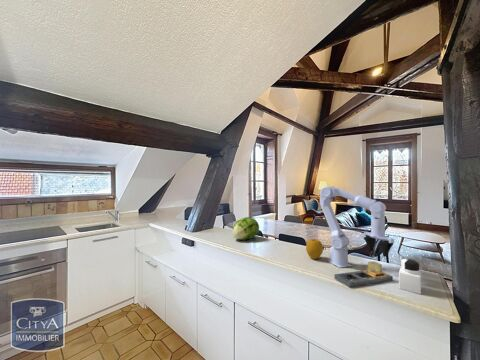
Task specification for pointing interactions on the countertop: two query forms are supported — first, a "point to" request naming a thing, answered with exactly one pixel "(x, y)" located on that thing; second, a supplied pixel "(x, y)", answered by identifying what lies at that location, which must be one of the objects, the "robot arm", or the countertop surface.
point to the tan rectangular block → (375, 268)
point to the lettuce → (245, 228)
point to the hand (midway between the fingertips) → (378, 253)
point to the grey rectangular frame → (359, 280)
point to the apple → (314, 248)
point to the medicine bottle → (410, 276)
